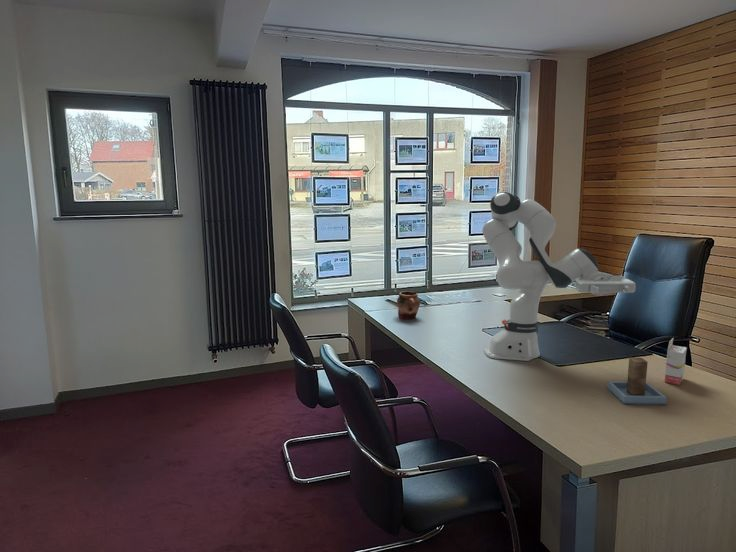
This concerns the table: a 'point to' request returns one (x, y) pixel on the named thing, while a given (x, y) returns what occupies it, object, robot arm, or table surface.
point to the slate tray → (650, 396)
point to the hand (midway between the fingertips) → (613, 290)
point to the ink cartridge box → (675, 364)
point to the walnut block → (637, 377)
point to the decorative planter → (408, 305)
